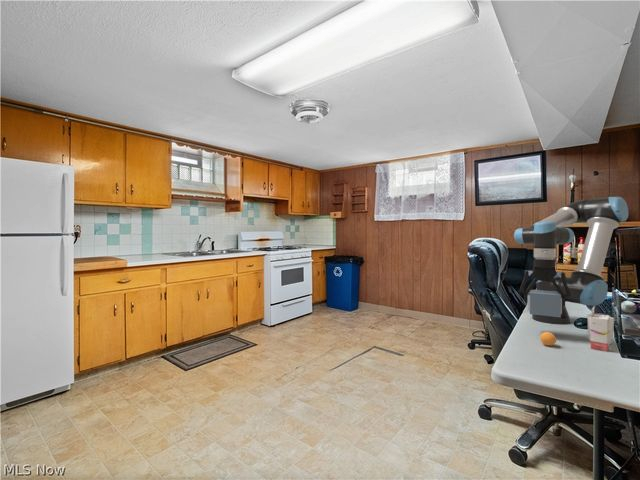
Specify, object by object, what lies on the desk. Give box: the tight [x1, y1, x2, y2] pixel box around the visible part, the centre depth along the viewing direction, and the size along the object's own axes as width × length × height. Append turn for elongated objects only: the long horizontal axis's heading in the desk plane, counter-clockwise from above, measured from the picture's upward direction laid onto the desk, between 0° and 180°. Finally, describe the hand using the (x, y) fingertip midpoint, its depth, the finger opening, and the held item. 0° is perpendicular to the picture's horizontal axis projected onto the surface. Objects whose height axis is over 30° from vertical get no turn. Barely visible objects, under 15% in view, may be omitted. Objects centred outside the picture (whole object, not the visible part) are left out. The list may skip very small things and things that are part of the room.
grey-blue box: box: [528, 289, 561, 317], centre depth 133 cm, size 10×10×9 cm
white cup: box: [586, 313, 615, 345], centre depth 125 cm, size 8×8×10 cm
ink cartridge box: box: [590, 306, 611, 352], centre depth 119 cm, size 9×5×15 cm, turn 134°
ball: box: [539, 331, 557, 347], centre depth 121 cm, size 5×5×5 cm
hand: (543, 311), depth 133 cm, fingers closed on grey-blue box, 10 cm apart
